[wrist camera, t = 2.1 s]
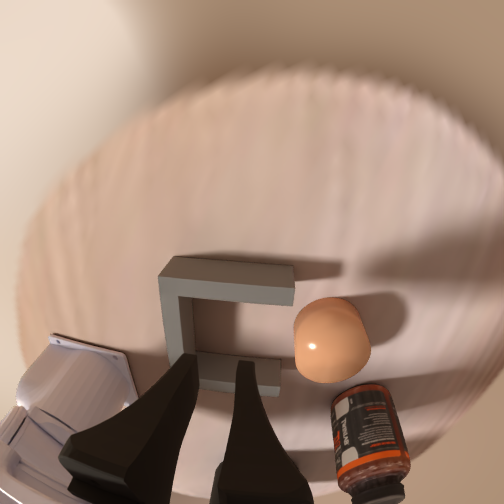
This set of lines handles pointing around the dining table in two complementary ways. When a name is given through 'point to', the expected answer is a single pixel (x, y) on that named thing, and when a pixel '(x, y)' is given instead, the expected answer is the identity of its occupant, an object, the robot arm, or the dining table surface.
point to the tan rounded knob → (330, 341)
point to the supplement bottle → (369, 446)
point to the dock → (225, 289)
